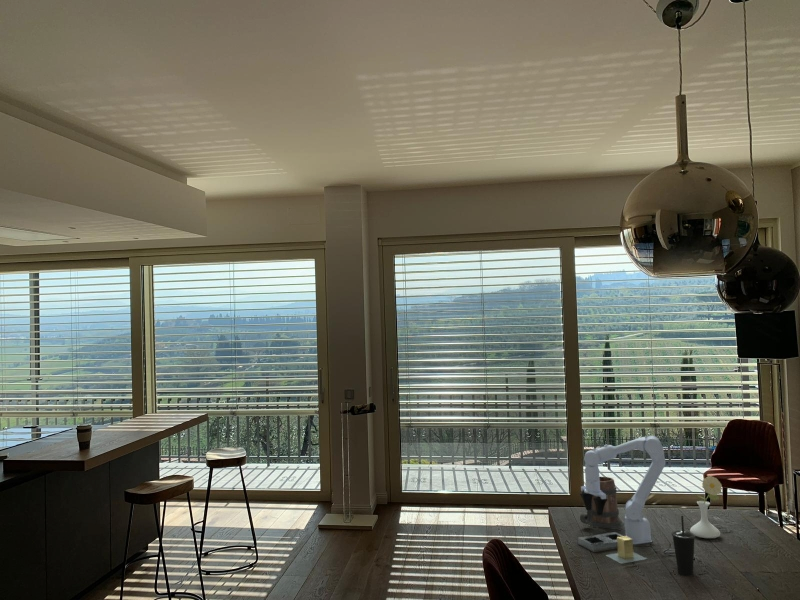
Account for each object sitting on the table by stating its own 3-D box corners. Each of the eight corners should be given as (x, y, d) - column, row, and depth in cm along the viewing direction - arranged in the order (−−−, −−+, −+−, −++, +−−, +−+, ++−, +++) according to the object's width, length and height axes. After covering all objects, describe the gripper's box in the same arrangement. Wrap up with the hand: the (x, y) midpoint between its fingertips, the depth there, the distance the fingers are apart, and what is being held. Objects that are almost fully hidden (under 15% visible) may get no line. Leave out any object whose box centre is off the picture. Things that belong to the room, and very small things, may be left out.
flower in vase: (691, 539, 240) (687, 477, 242) (689, 530, 251) (685, 471, 252) (727, 542, 235) (723, 479, 237) (723, 533, 246) (719, 473, 247)
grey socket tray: (615, 539, 243) (614, 531, 243) (631, 547, 233) (631, 539, 233) (578, 545, 237) (577, 537, 237) (593, 553, 228) (593, 545, 228)
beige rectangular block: (626, 554, 224) (625, 535, 225) (633, 558, 220) (632, 539, 221) (617, 555, 223) (616, 537, 223) (624, 559, 219) (623, 540, 220)
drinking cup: (688, 579, 202) (684, 520, 203) (669, 571, 208) (665, 514, 210) (702, 574, 205) (698, 516, 206) (683, 567, 212) (679, 511, 213)
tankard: (600, 515, 275) (598, 472, 276) (632, 524, 261) (629, 479, 262) (567, 525, 262) (565, 480, 264) (598, 535, 248) (596, 487, 249)
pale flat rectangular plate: (630, 552, 228) (630, 550, 228) (647, 560, 219) (647, 558, 219) (605, 556, 224) (605, 555, 224) (621, 565, 215) (620, 563, 215)
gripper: (574, 476, 253) (575, 508, 252) (595, 484, 239) (597, 518, 238) (588, 475, 255) (589, 506, 254) (609, 482, 241) (611, 516, 240)
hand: (594, 512), depth 246 cm, fingers open, 7 cm apart
